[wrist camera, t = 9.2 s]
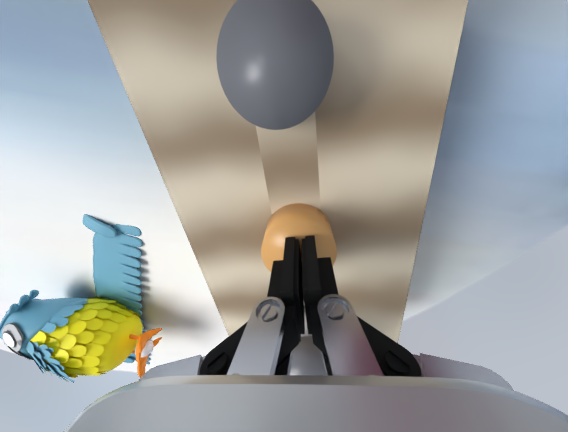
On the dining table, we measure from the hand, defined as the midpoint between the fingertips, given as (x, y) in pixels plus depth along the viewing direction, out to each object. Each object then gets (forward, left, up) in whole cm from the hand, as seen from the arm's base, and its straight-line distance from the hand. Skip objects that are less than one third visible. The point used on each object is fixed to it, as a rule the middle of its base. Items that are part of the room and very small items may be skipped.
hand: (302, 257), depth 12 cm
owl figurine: (+12, -26, -8) cm, 30 cm away
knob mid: (0, 0, -6) cm, 6 cm away
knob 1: (-9, 0, -6) cm, 11 cm away
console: (0, 0, -7) cm, 7 cm away
